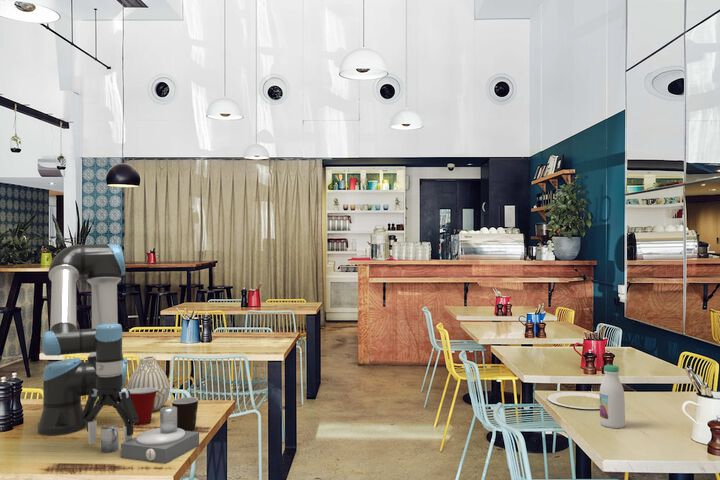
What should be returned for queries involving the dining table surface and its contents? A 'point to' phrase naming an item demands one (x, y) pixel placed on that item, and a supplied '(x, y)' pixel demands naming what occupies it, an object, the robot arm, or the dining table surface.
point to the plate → (553, 397)
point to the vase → (150, 380)
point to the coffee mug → (186, 412)
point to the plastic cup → (143, 403)
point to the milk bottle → (612, 399)
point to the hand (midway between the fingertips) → (109, 444)
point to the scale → (159, 445)
